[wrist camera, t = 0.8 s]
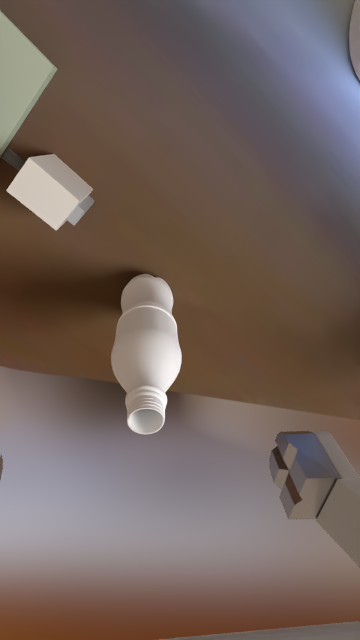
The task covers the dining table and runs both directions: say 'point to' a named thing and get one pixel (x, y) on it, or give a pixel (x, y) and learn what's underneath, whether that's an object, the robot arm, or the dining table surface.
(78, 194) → the keyed plug
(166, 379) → the water bottle
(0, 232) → the dining table surface
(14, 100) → the socket board
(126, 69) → the dining table surface
